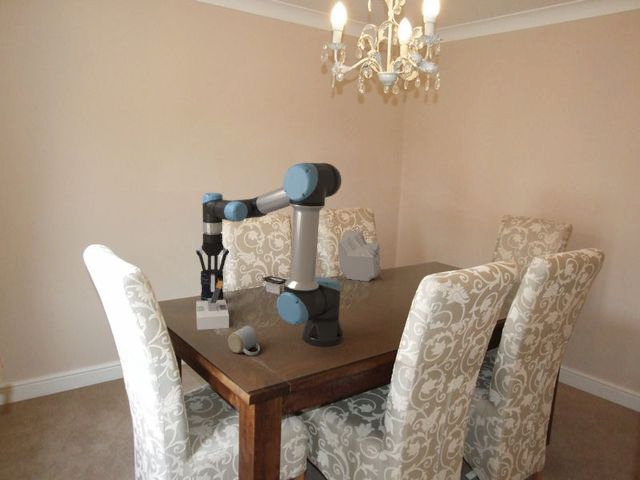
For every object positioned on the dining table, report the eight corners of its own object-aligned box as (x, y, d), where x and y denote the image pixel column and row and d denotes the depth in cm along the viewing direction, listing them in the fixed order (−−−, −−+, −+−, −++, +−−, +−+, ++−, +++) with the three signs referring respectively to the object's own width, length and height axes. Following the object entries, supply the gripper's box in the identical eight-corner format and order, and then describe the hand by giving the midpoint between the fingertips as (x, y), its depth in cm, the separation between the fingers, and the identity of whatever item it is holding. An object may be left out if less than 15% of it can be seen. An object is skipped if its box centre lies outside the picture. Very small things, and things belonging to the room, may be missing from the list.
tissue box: (382, 271, 265) (381, 232, 253) (376, 287, 252) (375, 247, 240) (347, 267, 272) (345, 230, 259) (340, 283, 258) (337, 244, 246)
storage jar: (228, 303, 209) (228, 271, 206) (212, 309, 201) (211, 275, 198) (212, 299, 214) (212, 267, 212) (196, 304, 206) (195, 272, 204)
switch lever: (214, 309, 186) (223, 282, 185) (209, 308, 185) (218, 281, 184) (213, 306, 190) (222, 279, 189) (208, 304, 189) (217, 278, 188)
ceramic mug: (226, 351, 160) (226, 330, 158) (242, 343, 167) (242, 323, 165) (249, 359, 154) (249, 338, 153) (265, 351, 161) (265, 330, 159)
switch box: (228, 327, 181) (228, 308, 179) (197, 330, 177) (196, 310, 176) (225, 310, 199) (225, 293, 198) (196, 312, 196) (196, 294, 195)
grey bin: (281, 303, 214) (282, 282, 212) (242, 292, 228) (242, 273, 226) (307, 293, 230) (307, 274, 228) (268, 284, 243) (268, 266, 242)
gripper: (228, 231, 187) (228, 287, 191) (195, 231, 184) (195, 288, 188) (230, 234, 180) (229, 292, 184) (195, 234, 177) (196, 294, 181)
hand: (212, 290), depth 186 cm, fingers closed
